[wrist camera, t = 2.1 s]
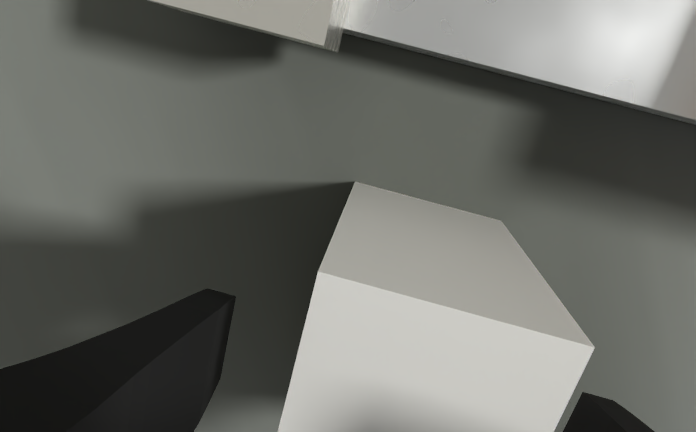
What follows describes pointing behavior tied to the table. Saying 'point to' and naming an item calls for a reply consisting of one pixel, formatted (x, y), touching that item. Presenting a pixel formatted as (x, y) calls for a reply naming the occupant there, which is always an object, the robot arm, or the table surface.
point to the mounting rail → (508, 39)
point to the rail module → (430, 327)
